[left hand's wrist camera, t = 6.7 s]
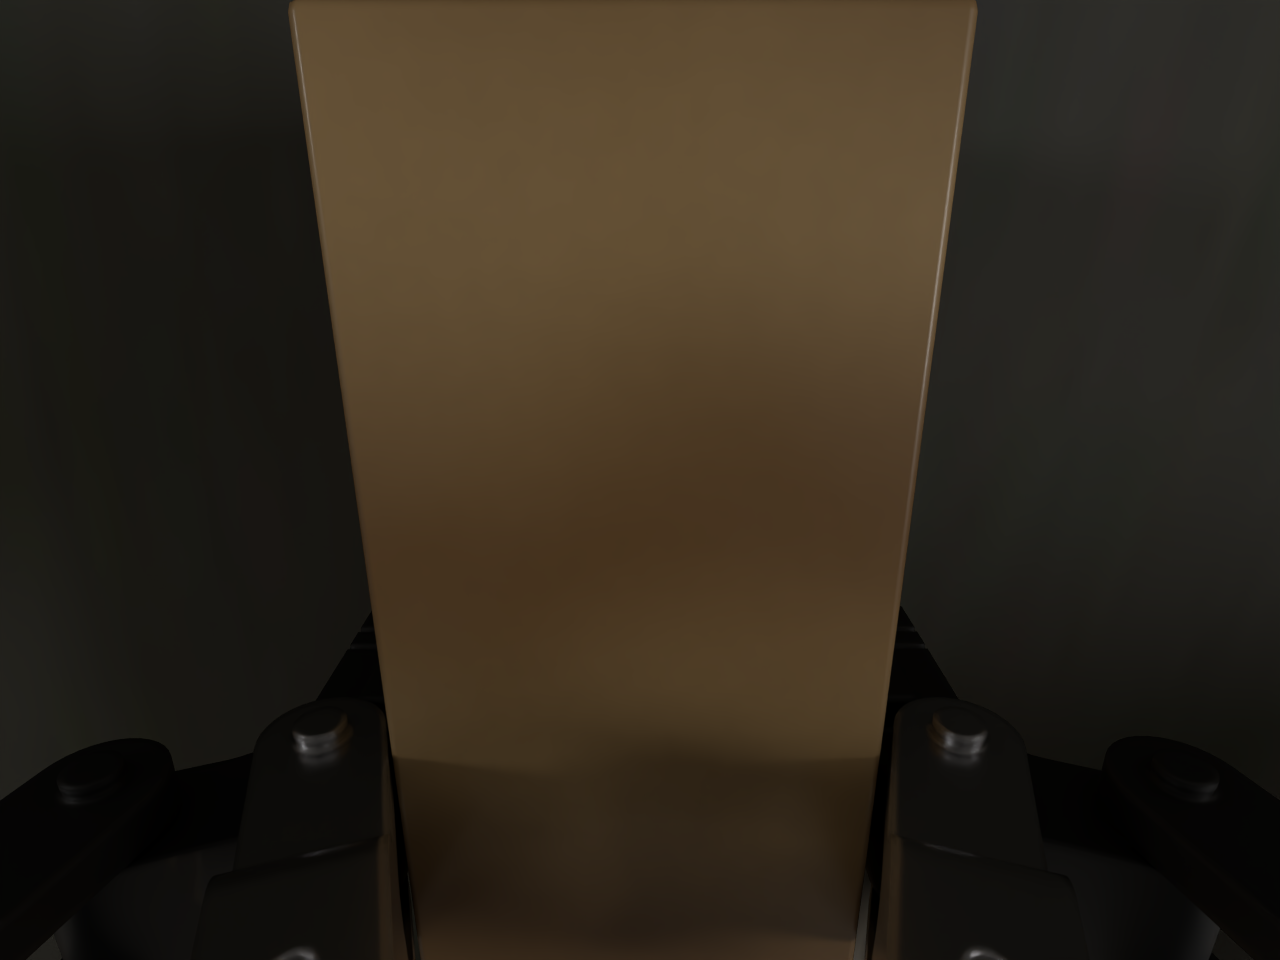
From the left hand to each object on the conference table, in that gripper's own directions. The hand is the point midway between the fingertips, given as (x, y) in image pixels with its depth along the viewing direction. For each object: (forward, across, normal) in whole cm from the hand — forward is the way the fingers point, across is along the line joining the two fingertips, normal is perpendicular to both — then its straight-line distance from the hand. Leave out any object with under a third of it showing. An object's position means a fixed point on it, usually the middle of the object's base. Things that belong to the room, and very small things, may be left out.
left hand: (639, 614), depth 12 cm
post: (+4, 0, -18) cm, 19 cm away
